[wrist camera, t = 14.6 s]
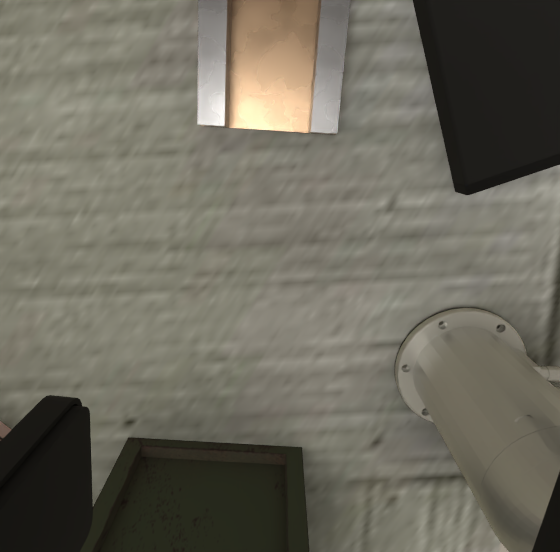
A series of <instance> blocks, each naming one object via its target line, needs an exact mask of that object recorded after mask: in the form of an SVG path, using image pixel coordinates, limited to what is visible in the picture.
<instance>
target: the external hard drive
mask: <svg viewBox="0 0 560 552" xmlns="http://www.w3.org/2000/svg"><path fill="white" fill-rule="evenodd" d="M413 3H414V7H415V12H416V16H417V21H418V25H419V30H420V34H421V39H422V43H423V48H424V52H425V57H426V61H427V66H428V71H429V75H430V80H431V84H432V89H433V93H434V98H435V102H436V107H437V111H438V116H439V120H440V125H441V129H442V134H443V138H444V143H445V147H446V152H447V156H448V161H449V165H450V170H451V174H452V179H453V183H454V188H455V192H458V193H461V194H465V195H470V194H473V193H476V192H479V191H482V190H485V189H488V188H491V187H494V186H497V185H500V184H503V183H506V182H509V181H512V180H515V179H518V178H521V177H524V176H527V175H530V174H533V173H536V172H539V171H542V170H545V169H548V168H550V167H553V166H556V165H559V164H560V0H413Z"/></svg>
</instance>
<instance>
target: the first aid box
mask: <svg viewBox="0 0 560 552" xmlns="http://www.w3.org/2000/svg"><path fill="white" fill-rule="evenodd" d="M80 552H309V541H308V527H307V513H306V499H305V485H304V472H303V458H302V448H301V447H283V446H266V445H248V444H230V443H213V442H196V441H178V440H161V439H144V438H128V440H127V442H126V444H125V446H124V447H123V449H122V451H121V453H120V455H119V457H118V459H117V461H116V463H115V465H114V467H113V469H112V471H111V473H110V475H109V477H108V479H107V481H106V483H105V485H104V487H103V489H102V491H101V493H100V495H99V496H98V498H97V500H96V502H95V504H94V506H93V519H92V525H91V529H90V532H89V535H88V537H87V539H86V541H85V543H84V545H83V547H82V548H81V550H80Z"/></svg>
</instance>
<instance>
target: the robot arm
mask: <svg viewBox="0 0 560 552" xmlns="http://www.w3.org/2000/svg"><path fill="white" fill-rule="evenodd" d="M441 321H442V322H441ZM439 322H441V323H439ZM403 365H404V366H403ZM395 379H396V383H397V387H398V389H399V392H400V394H401V396H402V398H403V400H404V401H405V403H406V404H407V406H408V407H409V408H410V409H411V410H412V411H413V412H414V413H416V414H417V415H418V416H420V417H421V418H423V419H426V420H428V421H430V422H433V423H434V424H435V425H436V427H437V429H438V431H439V433H440V434H441V436H442V438H443V440H444V442H445V444H446V445H447V447H448V449H449V451H450V453H451V454H452V456H453V458H454V460H455V462H456V464H457V465H458V467H459V469H460V471H461V473H462V474H463V476H464V478H465V480H466V482H467V484H468V485H469V487H470V489H471V491H472V493H473V494H474V496H475V498H476V500H477V502H478V504H479V505H480V507H481V509H482V511H483V513H484V515H485V516H486V518H487V520H488V522H489V524H490V526H491V527H492V529H493V531H494V533H495V534H496V536H497V537H498V539H499V540H500V541H501V543H502V544H503V545H504V546H505V548H506V549H507V550H508V551H509V552H560V387H554V386H553V385H552V384H551V383H550V382H549V381H558V382H559V381H560V367H557V366H538V365H537V364H535V363H534V362H533V361H532V360H531V359H530V358H529V357H527V354H526V349H525V346H524V343H523V340H522V339H521V337H520V336H519V334H518V332H517V331H516V330H515V329H514V328H513V327H512V326H511V325H510V324H509V323H508V322H506V321H505V320H503V319H502V318H501V317H499V316H497V315H495V314H493V313H491V312H489V311H485V310H481V309H475V308H459V309H452V310H448V311H445V312H441V313H439V314H437V315H434V316H432V317H430V318H428V319H427V320H425V321H424V322H423V323H421V324H420V325H418V326H417V327H416V328H415V329H414V330H413V331H412V332H411V333H410V334H409V335H408V337H407V338H406V340H405V341H404V343H403V344H402V346H401V348H400V350H399V353H398V355H397V359H396V364H395ZM92 519H93V504H92V471H91V438H90V412H89V409H88V408H87V407H83V406H82V403H81V401H80V399H78V398H71V397H62V396H52V395H49V396H46V397H45V398H43V399H42V400H41V401H40V402H39V403H38V404H37V405H36V406H35V407H34V408H33V409H32V410H31V411H30V412H29V413H28V414H27V415H26V416H25V417H24V418H23V419H22V420H21V421H20V422H19V423H18V424H17V425H16V426H15V427H14V428H13V429H12V430H11V431H10V432H9V433H8V434H7V435H6V436H5V437H4V438H3V439H2V440H1V441H0V552H80V550H81V548H82V547H83V545H84V543H85V541H86V539H87V537H88V535H89V532H90V529H91V525H92Z"/></svg>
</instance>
